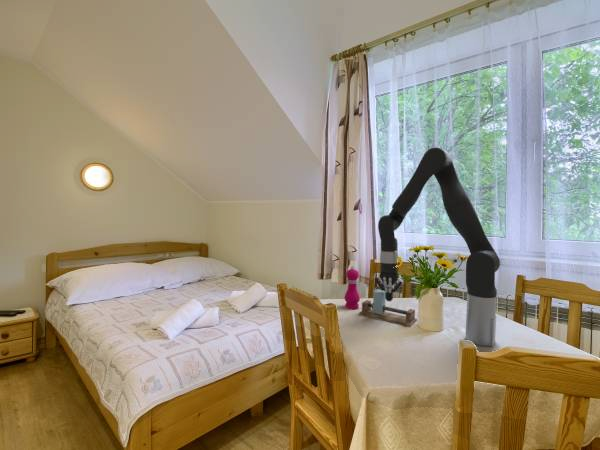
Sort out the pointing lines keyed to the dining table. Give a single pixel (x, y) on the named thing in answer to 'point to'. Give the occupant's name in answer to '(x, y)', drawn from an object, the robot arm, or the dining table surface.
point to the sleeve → (378, 301)
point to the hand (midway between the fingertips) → (389, 300)
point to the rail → (389, 314)
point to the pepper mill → (352, 289)
